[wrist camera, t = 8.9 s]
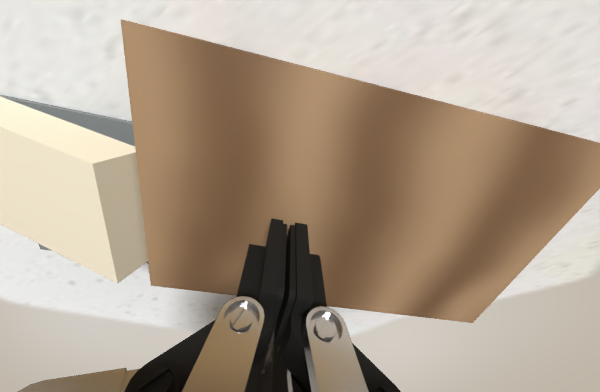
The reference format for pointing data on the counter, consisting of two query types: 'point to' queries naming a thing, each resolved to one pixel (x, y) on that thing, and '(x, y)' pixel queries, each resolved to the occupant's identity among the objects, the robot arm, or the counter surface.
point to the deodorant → (269, 373)
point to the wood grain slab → (339, 179)
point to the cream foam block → (71, 191)
